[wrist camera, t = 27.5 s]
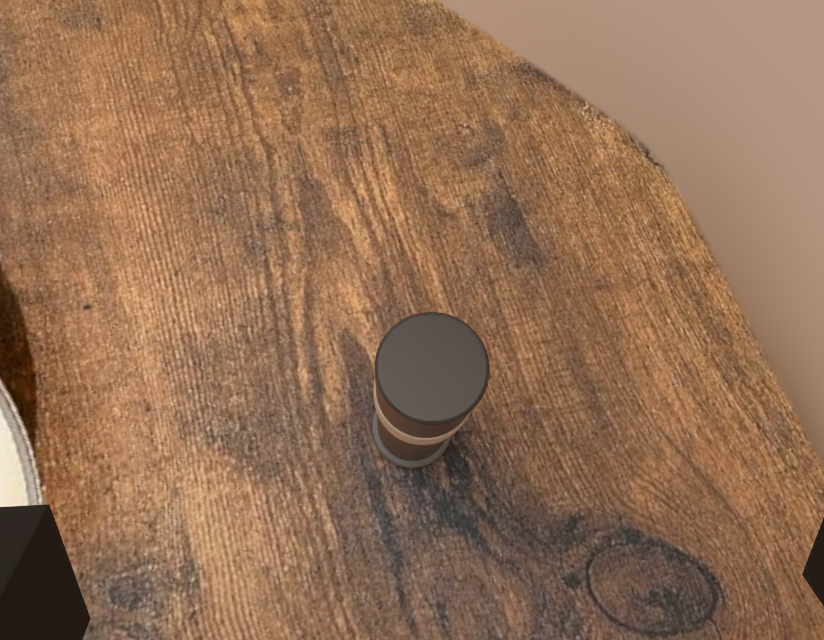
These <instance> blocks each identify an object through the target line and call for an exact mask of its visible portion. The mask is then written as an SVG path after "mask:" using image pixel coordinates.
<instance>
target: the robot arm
mask: <svg viewBox="0 0 824 640" xmlns="http://www.w3.org/2000/svg"><path fill="white" fill-rule="evenodd" d="M802 575H803V576H804V578H805V579H806V581H807V582H808V584H809V585H810V587H811V588H812V590H813V591H814V593H815V594H816V596H817V597H818V599H819V600H820V602H821V603H822V604H823V606H824V519H823V521H822V524H821V527H820V529H819V532H818V534H817V537H816V540H815V542H814V545H813V547H812V550H811V553H810V555H809V558H808V560H807V563H806V566H805V568H804V571H803V574H802ZM89 621H90V616H89V613H88V610H87V608H86V605H85V602H84V599H83V597H82V594H81V591H80V588H79V585H78V583H77V580H76V577H75V574H74V572H73V569H72V566H71V563H70V561H69V558H68V555H67V552H66V550H65V547H64V544H63V541H62V538H61V536H60V533H59V530H58V527H57V525H56V522H55V519H54V516H53V514H52V511H51V508H50V505H33V506H15V507H0V640H82V639H83V636H84V634H85V631H86V629H87V626H88V623H89Z"/></svg>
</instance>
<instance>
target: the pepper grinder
mask: <svg viewBox="0 0 824 640" xmlns="http://www.w3.org/2000/svg"><path fill="white" fill-rule="evenodd" d="M489 373H490V366H489V358H488V354H487V351H486V349H485V346H484V344H483V342H482V341H481V339H480V337H479V336H478V335H477V333H476V332H475V331H474V330H473V329H472V328H471V327H470V326H469V325H467V324H466V323H465V322H463V321H461V320H460V319H458V318H456V317H453V316H451V315H448V314H444V313H438V312H425V313H419V314H415V315H412V316H409V317H407V318H405V319H403V320H401V321H400V322H398V323H397V324H396V325H394V326H393V327H392V328H391V329H390V330H389V331H388V332H387V334H386V335H385V336H384V338H383V340H382V341H381V343H380V345H379V348H378V351H377V354H376V359H375V380H374V402H375V408H376V409H375V411H374V414H373V418H372V436H373V440H374V443H375V445H376V447H377V449H378V451H379V452H380V453H381V455H382V456H383V457H384V458H385V459H387V460H388V461H389V462H391V463H392V464H394V465H397V466H399V467H403V468H409V469H415V468H421V467H425V466H427V465H429V464H431V463H433V462H434V461H436V460H437V459H438V458H439V457H440V456H441V455H442V454H443V453H444V452H445V450H446V449H447V447H448V445H449V443H450V441H451V437H452V435H453V434H454V433H455V432H456V431H457V430H458V429H459V428H460V427H461V426H462V425H463V424H464V423H465V421H466V420H467V419H468V417H469V415H470V413H471V412H472V410H473V409H474V408H475V407H476V405H477V404H478V403H479V401H480V400H481V398H482V397H483V395H484V393H485V390H486V388H487V385H488V381H489Z"/></svg>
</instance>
